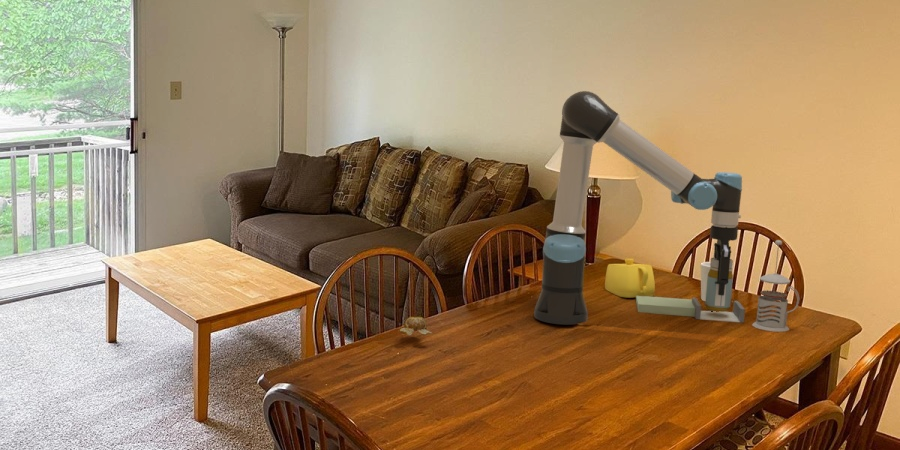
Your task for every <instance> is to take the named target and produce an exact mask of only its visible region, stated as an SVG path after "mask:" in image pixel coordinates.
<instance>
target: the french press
mask: <svg viewBox="0 0 900 450" xmlns="http://www.w3.org/2000/svg"><path fill="white" fill-rule="evenodd" d="M774 244H775V245H777V253H776V263H775V271H774V272H775V273H769V274H764V275H763V276H760V277H759V280H760V281H761V282H764V283H767V284H773V290H761V291H760V292H759V294H760V296H758V300H757V310H756V319H755V320H756V321H754V322H753V323H752V324H751V325H752V327H754V328H756V329H759V330H762V331H767V332H769V331H770V332H781V333H782V332H788V331H790V328H789V327H788V326H787V322H788V314H789V313H792V312H793V311H794V310H796V309H797V308H798V306H799V304H800V295H799V294H800V293H799V291H798V290H797V289H796V288H794V287H793V286H788V287H787V292H788V293H789V292H790V290H792V291H793V292H794V293H795V295H796V304H795V306H794V308H793V309H790V310H788V302H789V300H788V299H787V298H786V297H788V294H787V293H785V292H782V291H780V292H779V291H775V290H776V289H775V288H776V287H775V286H776V285H788V284H790V282H791V279H789V278H787V277H786V276H784V275H782V274H779V273H777V267H778V260H779V259H778V258H779V247H780V246H781V245H783V241H782V240H779V239H776V240H775V241H774ZM779 245H780V246H779ZM774 306H775V307H774ZM772 315H773V316H772Z"/></svg>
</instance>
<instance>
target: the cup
mask: <svg viewBox="0 0 900 450" xmlns="http://www.w3.org/2000/svg"><path fill="white" fill-rule="evenodd" d="M710 262H711V261H704V262H701V263H700V288H701V289H700V298H701V300H702V301H703V302H705V301H706V290H707V278H708V273H709V270H710ZM733 271H734V266H733V265H732V272H733Z"/></svg>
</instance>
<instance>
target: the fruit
mask: <svg viewBox="0 0 900 450" xmlns="http://www.w3.org/2000/svg"><path fill="white" fill-rule="evenodd" d="M403 326H404V327H403V328H400V329H399V332H400V333H402V334H404V335H406V336H411V335H412V334H413V333H414V331H415V332H416V331H418V332H419V333H420V334H422V335H429V334H433V332H431V331H429V330H427V321H426V320H425V318H424V317H422V316H409V317H407V318H406V320H405V322H404V325H403Z"/></svg>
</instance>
